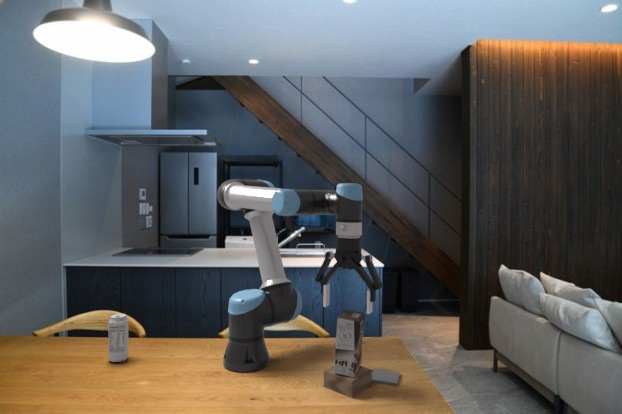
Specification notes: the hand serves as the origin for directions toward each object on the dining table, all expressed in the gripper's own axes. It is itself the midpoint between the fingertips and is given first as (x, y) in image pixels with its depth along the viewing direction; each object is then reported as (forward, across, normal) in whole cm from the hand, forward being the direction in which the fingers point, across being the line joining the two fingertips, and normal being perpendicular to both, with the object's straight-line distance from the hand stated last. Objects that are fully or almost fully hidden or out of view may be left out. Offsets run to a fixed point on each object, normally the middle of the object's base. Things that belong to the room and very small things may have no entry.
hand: (347, 309), depth 115 cm
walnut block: (+23, +1, 0) cm, 23 cm away
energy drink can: (+24, -74, -20) cm, 81 cm away
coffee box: (+18, 0, 0) cm, 18 cm away
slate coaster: (+22, +9, +10) cm, 26 cm away
